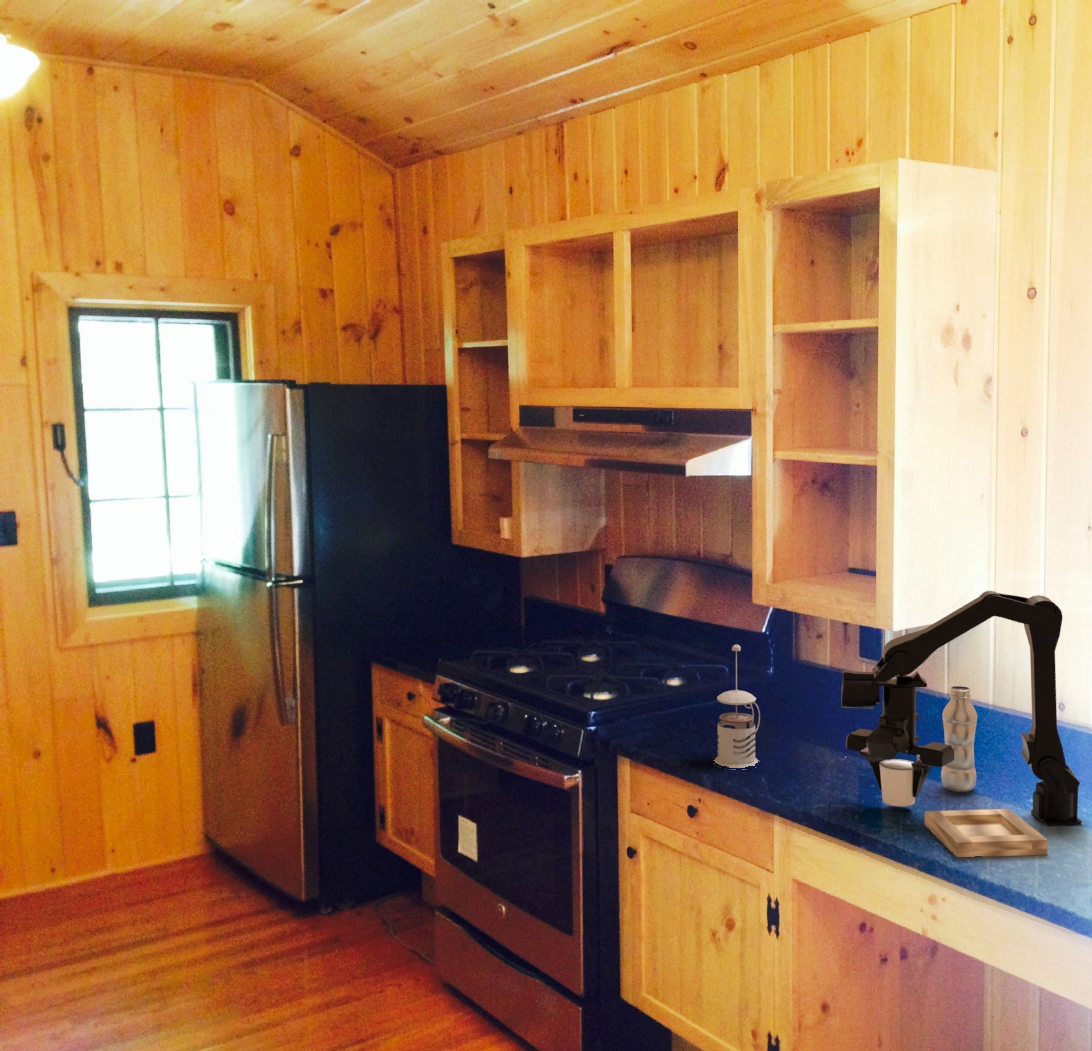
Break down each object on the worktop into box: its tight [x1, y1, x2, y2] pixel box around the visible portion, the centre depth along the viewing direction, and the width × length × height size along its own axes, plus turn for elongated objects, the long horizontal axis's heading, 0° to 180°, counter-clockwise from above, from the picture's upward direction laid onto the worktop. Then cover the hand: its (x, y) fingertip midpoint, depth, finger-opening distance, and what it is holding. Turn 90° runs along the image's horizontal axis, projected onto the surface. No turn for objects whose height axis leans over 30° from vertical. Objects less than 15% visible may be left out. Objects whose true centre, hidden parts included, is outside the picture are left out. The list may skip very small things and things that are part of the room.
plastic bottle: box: [940, 685, 978, 793], centre depth 225 cm, size 6×7×20 cm
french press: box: [713, 644, 761, 768], centre depth 245 cm, size 10×12×25 cm
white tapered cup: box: [879, 758, 916, 807], centre depth 215 cm, size 7×7×7 cm
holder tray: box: [924, 808, 1049, 858], centre depth 200 cm, size 15×15×2 cm
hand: (898, 792), depth 215 cm, fingers closed on white tapered cup, 6 cm apart
